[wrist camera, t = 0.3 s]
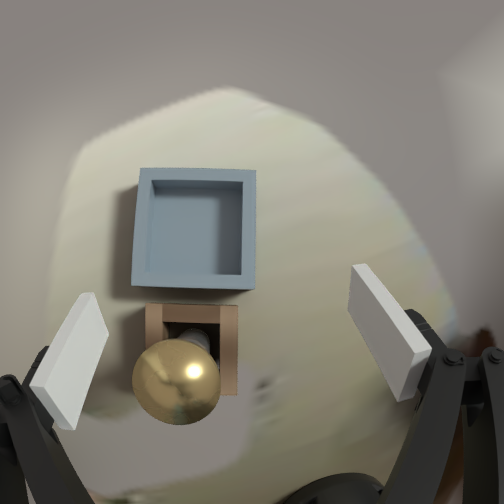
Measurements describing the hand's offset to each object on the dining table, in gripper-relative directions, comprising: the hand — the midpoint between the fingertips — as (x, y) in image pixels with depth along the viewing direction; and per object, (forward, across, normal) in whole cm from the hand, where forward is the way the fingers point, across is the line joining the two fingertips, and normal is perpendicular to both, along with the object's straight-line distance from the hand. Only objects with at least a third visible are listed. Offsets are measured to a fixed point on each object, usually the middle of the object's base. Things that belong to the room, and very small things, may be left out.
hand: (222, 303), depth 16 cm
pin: (+11, +4, +12) cm, 17 cm away
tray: (+17, +3, +3) cm, 17 cm away
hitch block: (+11, +4, +12) cm, 17 cm away
